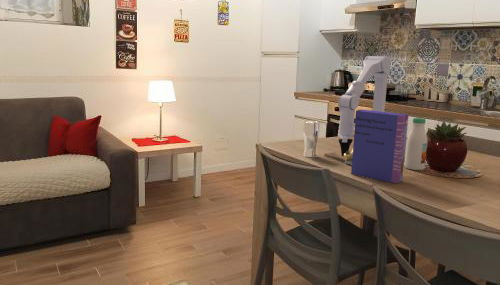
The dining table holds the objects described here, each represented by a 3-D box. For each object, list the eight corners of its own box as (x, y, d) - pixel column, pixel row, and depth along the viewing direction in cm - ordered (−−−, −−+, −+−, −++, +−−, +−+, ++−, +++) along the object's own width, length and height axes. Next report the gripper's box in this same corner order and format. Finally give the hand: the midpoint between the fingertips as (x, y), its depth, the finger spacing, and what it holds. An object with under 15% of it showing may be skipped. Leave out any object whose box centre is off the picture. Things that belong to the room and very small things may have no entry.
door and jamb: (356, 152, 203) (356, 143, 202) (399, 165, 180) (400, 155, 180) (324, 155, 194) (324, 146, 194) (365, 170, 172) (366, 159, 171)
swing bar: (353, 154, 191) (354, 147, 190) (361, 156, 189) (361, 148, 188) (341, 159, 181) (341, 151, 181) (349, 160, 179) (349, 152, 179)
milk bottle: (414, 171, 172) (420, 120, 168) (399, 166, 179) (404, 117, 175) (428, 169, 176) (434, 119, 172) (413, 165, 183) (418, 116, 179)
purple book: (401, 181, 158) (408, 114, 153) (396, 183, 154) (403, 115, 150) (357, 172, 169) (362, 109, 164) (351, 174, 165) (356, 109, 161)
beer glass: (317, 158, 189) (320, 123, 187) (301, 157, 191) (303, 122, 188) (318, 154, 196) (320, 121, 193) (302, 153, 197) (304, 120, 195)
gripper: (356, 127, 175) (353, 161, 178) (357, 122, 189) (355, 153, 191) (337, 126, 177) (335, 159, 179) (340, 121, 190) (338, 152, 193)
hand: (344, 156), depth 185 cm, fingers closed, pressing on swing bar
